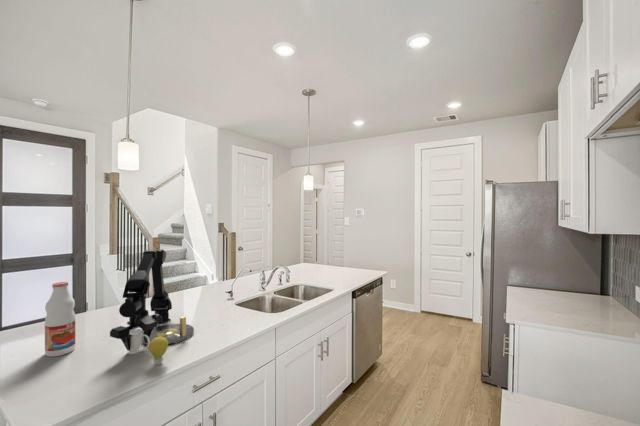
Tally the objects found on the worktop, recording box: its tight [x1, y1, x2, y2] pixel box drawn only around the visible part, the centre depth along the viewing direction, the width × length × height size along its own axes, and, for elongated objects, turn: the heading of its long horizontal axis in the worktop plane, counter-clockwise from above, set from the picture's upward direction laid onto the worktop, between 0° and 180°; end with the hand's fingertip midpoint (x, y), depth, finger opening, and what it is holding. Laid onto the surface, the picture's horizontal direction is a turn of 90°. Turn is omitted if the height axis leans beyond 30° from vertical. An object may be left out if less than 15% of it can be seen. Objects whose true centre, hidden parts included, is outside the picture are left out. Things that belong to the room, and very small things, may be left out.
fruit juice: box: [44, 281, 76, 358], centre depth 122 cm, size 9×9×28 cm
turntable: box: [141, 315, 195, 346], centre depth 138 cm, size 22×22×10 cm
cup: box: [127, 328, 150, 355], centre depth 122 cm, size 7×10×8 cm
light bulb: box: [147, 336, 169, 366], centre depth 113 cm, size 7×7×10 cm
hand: (137, 346), depth 122 cm, fingers open, 7 cm apart
